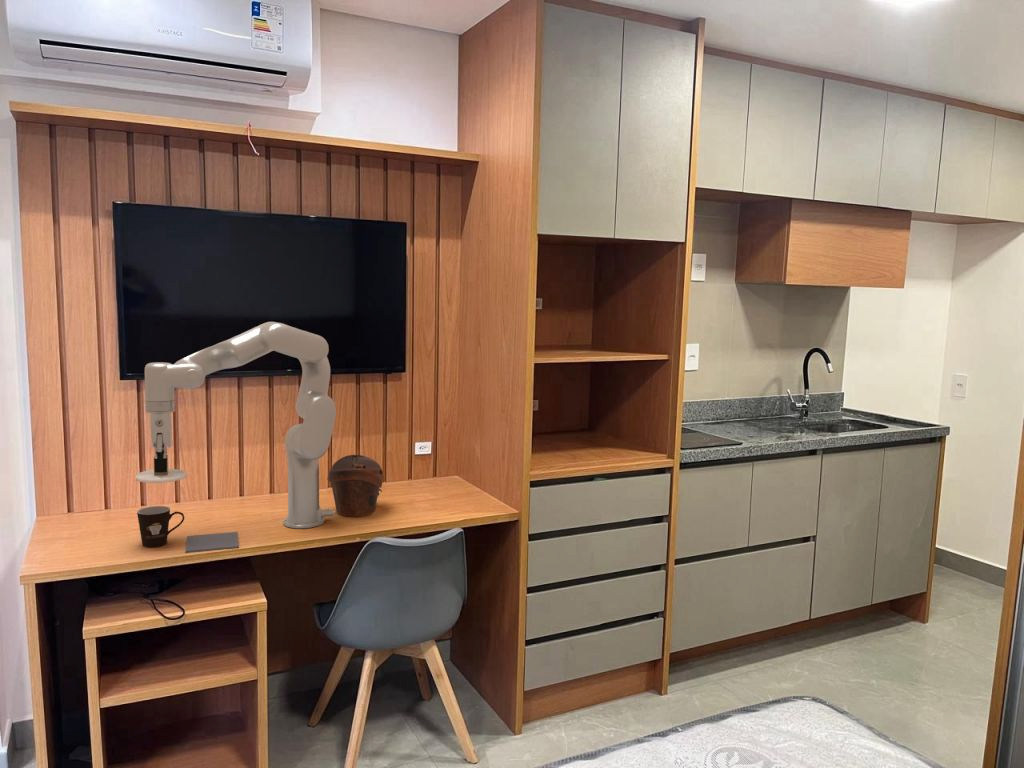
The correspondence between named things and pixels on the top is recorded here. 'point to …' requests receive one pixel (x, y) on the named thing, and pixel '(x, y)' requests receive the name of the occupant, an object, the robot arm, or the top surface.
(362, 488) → the brown tapered piece
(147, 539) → the coffee mug
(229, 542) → the mat
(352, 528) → the top surface
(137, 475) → the lid
